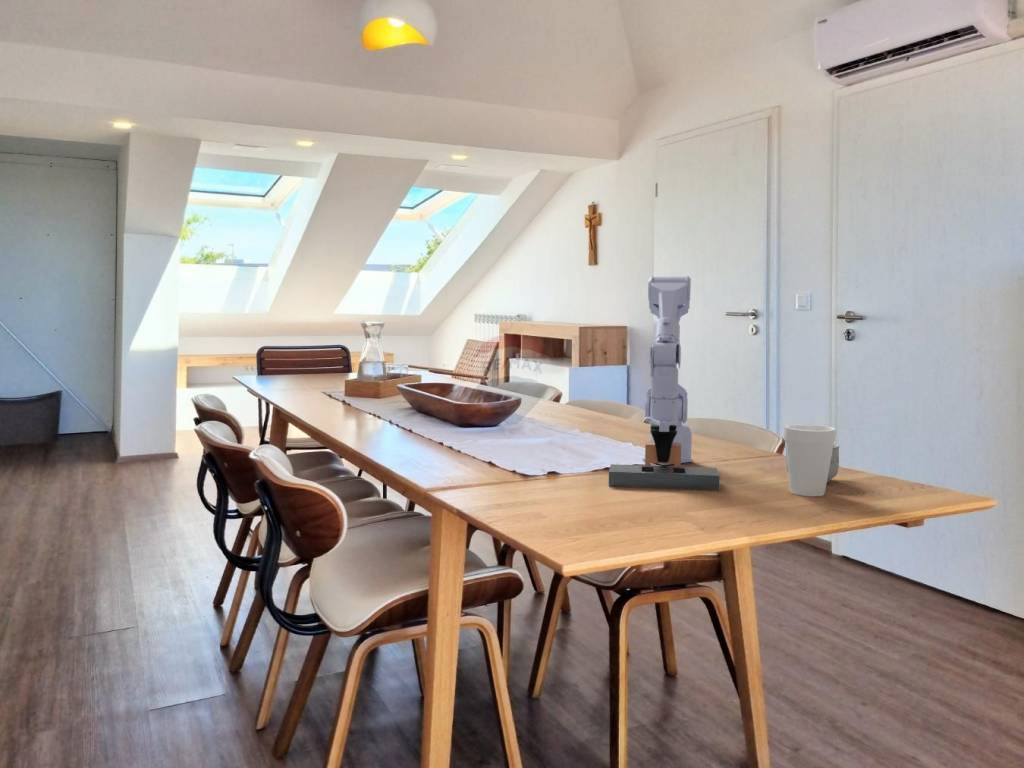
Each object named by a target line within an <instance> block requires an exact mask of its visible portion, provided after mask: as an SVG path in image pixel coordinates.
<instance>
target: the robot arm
mask: <svg viewBox="0 0 1024 768" xmlns="http://www.w3.org/2000/svg"><path fill="white" fill-rule="evenodd" d="M691 279H692V278H691V277H690V276H689V275H686V276H653V275H651V276H650V277H649V279H648V286H647V287H648V289H647V293H648V294H647V297H648V307H649V310H650V311H649V312H650V314H652V315H654V316H656V318H657V320H656V321H655V322H654V325H653V335H652V344H650V346H649V368H650V377H651V379H650V387H649V388H647V390H646V394H645V401H644V421H645V422H647V423H649V425H650V429H649V430H650V433H649V434H650V436H649V437H650V438H649V439H650V441H649V442H655V446H656V453H657V459H658V462H668V460H669V456H670V451H671V446H672V443H681V464H683V463H691V462H692V463H693V462H694V459H693V458H692V444H693V443H692V442H693V441H692V439H693V438H692V437H693V436H692V431H691V429H690V426H688V425H687V424H686V423H687V422H688V408H689V407H688V406H689V405H688V402H689V399H688V392H687V390H686V389H685V388H684V387H683V386H682V385H680V384H679V369H680V368H681V362H682V361H681V360H682V358H681V357H682V347H681V341H680V331H681V325H680V320H681V318H682V317H683V316H685V315H687V314H688V313H689V310H690V304H691V286H692V285H691V284H692V283H691V282H692V281H691ZM677 366H678V368H677ZM641 460H643V461H645V457H641ZM656 464H658V465H660V466H666V465H667V466H669V464H660V463H656Z"/></svg>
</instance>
